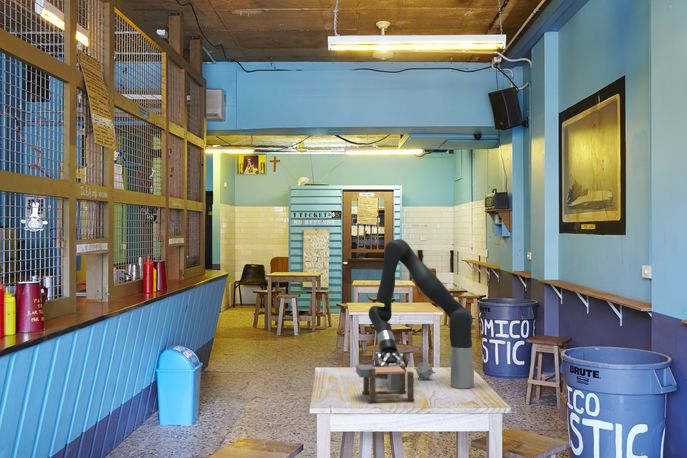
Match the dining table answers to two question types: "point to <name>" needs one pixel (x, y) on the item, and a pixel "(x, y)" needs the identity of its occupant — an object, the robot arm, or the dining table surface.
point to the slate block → (393, 380)
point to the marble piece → (381, 374)
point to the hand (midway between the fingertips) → (394, 374)
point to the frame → (370, 390)
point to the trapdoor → (377, 370)
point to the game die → (424, 370)
